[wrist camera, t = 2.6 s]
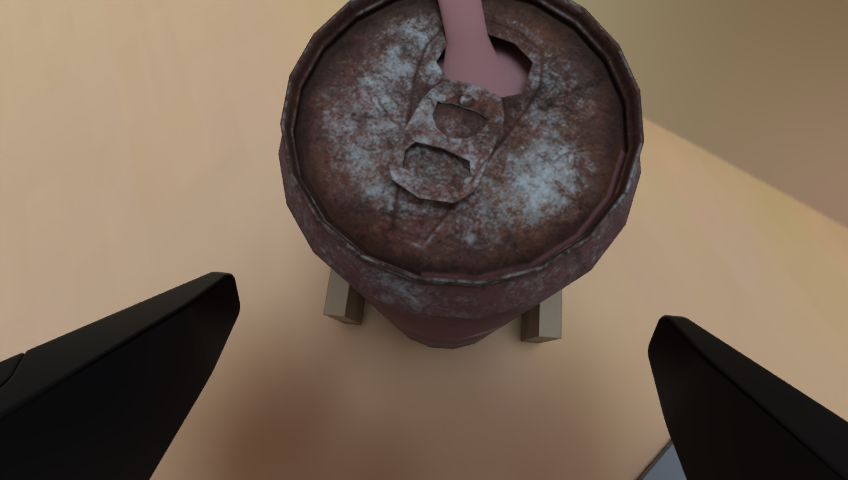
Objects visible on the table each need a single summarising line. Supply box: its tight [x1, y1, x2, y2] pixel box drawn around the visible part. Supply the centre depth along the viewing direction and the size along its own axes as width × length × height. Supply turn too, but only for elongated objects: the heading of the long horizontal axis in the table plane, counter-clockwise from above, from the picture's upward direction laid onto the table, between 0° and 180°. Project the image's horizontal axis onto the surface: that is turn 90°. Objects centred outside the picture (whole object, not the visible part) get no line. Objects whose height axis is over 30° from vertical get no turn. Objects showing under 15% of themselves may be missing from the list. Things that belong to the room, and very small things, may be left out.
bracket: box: [324, 268, 562, 343], centre depth 18 cm, size 7×9×4 cm
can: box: [279, 0, 644, 349], centre depth 13 cm, size 6×6×14 cm
